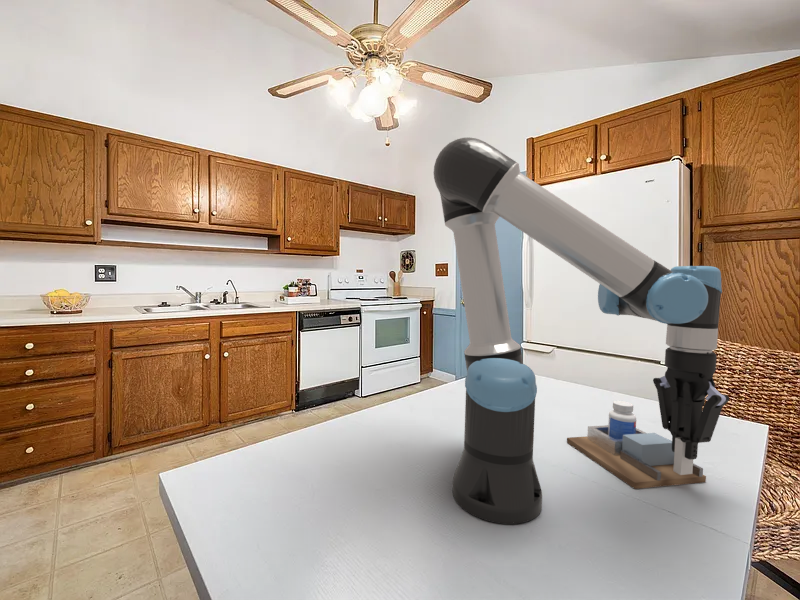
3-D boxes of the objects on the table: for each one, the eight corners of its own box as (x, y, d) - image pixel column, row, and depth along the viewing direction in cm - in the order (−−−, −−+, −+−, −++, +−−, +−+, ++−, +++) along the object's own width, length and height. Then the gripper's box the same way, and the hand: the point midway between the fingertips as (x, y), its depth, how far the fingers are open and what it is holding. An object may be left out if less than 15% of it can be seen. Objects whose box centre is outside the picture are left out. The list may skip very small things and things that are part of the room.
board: (634, 488, 69) (635, 482, 69) (566, 442, 88) (567, 437, 88) (705, 482, 72) (706, 476, 72) (624, 438, 91) (624, 434, 91)
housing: (641, 466, 75) (642, 445, 74) (621, 455, 79) (622, 434, 79) (674, 464, 76) (675, 442, 76) (653, 452, 81) (654, 432, 81)
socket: (614, 455, 79) (615, 441, 79) (587, 438, 88) (587, 426, 88) (657, 452, 82) (658, 438, 81) (627, 436, 90) (627, 424, 90)
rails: (657, 480, 69) (657, 472, 69) (620, 458, 78) (620, 450, 78) (702, 476, 71) (703, 468, 71) (661, 454, 80) (662, 447, 80)
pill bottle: (639, 452, 81) (641, 408, 81) (612, 449, 83) (614, 406, 82) (629, 441, 87) (631, 400, 86) (604, 439, 88) (606, 398, 87)
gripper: (745, 355, 63) (736, 489, 64) (674, 343, 76) (667, 455, 77) (710, 356, 62) (701, 493, 63) (643, 343, 74) (637, 457, 76)
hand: (682, 472), depth 70 cm, fingers closed
